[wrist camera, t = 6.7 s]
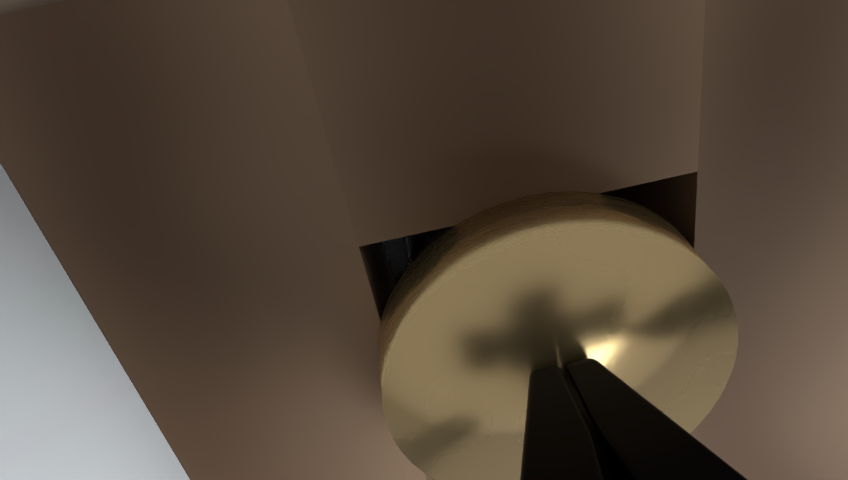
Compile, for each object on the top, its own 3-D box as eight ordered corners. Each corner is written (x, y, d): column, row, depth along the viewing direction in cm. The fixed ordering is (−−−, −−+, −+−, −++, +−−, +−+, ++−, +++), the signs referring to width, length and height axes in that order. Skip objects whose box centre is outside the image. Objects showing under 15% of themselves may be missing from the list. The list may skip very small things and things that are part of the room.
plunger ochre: (603, 56, 12) (753, 190, 8) (611, 273, 15) (726, 460, 11) (337, 115, 12) (341, 282, 8) (394, 321, 15) (420, 528, 11)
